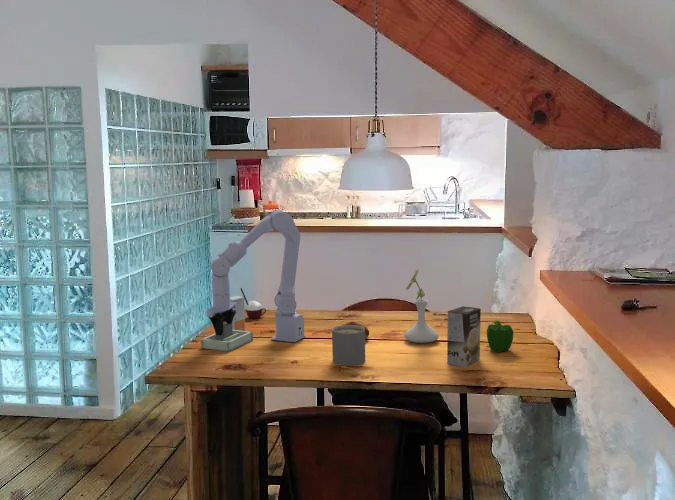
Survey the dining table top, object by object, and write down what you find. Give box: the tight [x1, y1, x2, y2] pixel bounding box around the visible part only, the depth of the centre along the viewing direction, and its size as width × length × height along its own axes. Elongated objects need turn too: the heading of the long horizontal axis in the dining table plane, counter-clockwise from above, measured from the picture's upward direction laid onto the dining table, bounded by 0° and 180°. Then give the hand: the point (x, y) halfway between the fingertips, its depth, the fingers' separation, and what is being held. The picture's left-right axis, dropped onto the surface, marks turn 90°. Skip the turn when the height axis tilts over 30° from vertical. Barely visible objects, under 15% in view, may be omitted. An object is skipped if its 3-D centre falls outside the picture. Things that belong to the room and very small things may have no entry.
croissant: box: [342, 320, 370, 340], centre depth 225 cm, size 21×10×8 cm, turn 164°
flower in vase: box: [404, 268, 440, 344], centre depth 218 cm, size 13×11×25 cm
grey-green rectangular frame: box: [200, 330, 254, 353], centre depth 222 cm, size 11×14×3 cm
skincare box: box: [230, 295, 246, 331], centre depth 239 cm, size 6×4×12 cm
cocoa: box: [240, 287, 267, 320], centre depth 257 cm, size 10×6×12 cm, turn 84°
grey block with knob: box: [216, 322, 233, 341], centre depth 222 cm, size 4×4×6 cm
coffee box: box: [446, 305, 482, 368], centre depth 196 cm, size 9×6×16 cm
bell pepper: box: [486, 319, 514, 353], centre depth 208 cm, size 8×8×10 cm
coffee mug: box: [331, 324, 366, 367], centre depth 202 cm, size 13×10×10 cm
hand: (223, 333), depth 222 cm, fingers closed on grey block with knob, 4 cm apart
